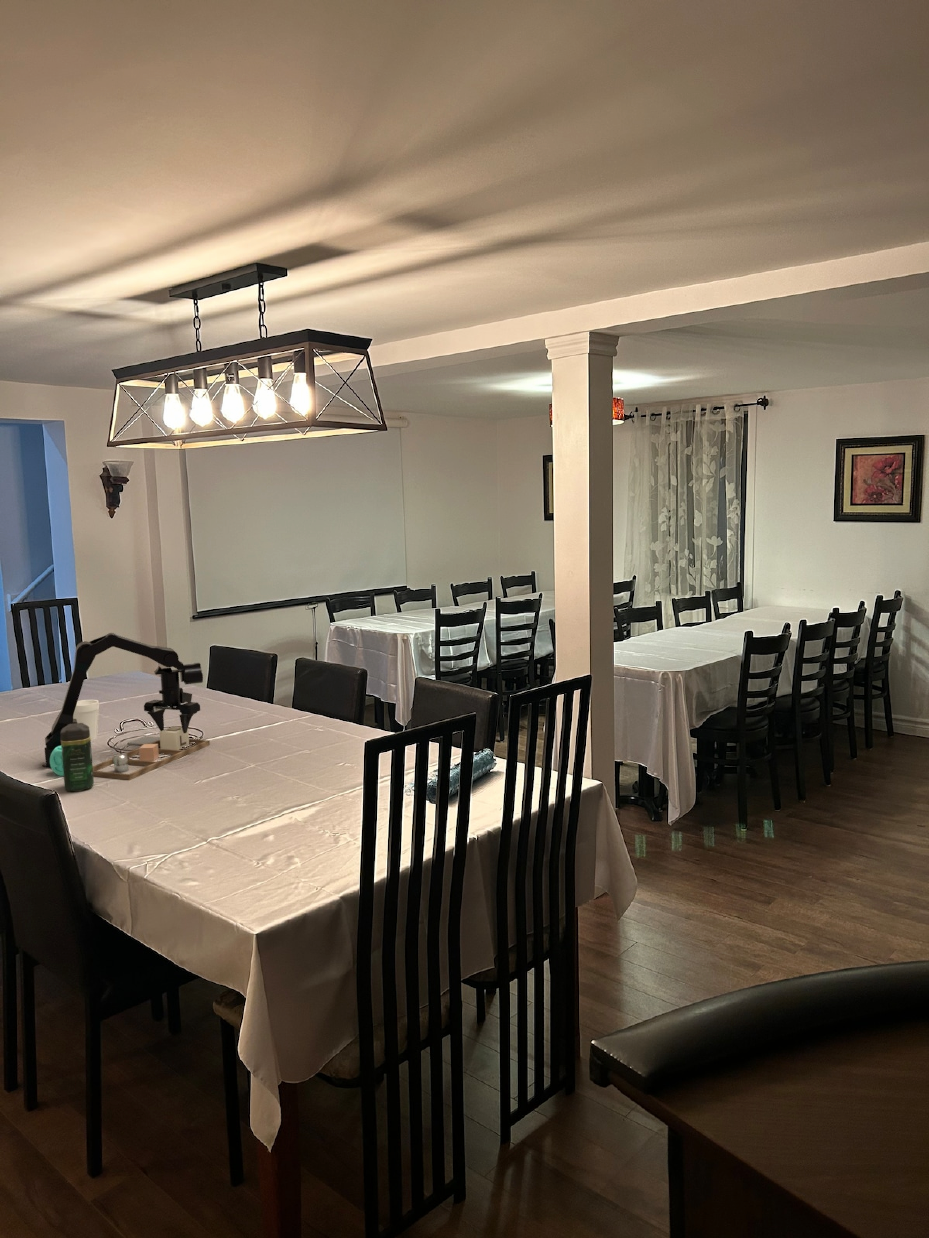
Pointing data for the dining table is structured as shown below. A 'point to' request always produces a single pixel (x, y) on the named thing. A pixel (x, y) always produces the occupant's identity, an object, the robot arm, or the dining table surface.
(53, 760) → the teal round container
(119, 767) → the grey metal canister
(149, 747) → the terracotta block
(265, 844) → the dining table surface
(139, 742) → the slate pad
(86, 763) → the coffee jar
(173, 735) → the letter cube
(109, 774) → the walnut rack
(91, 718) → the foam cup
